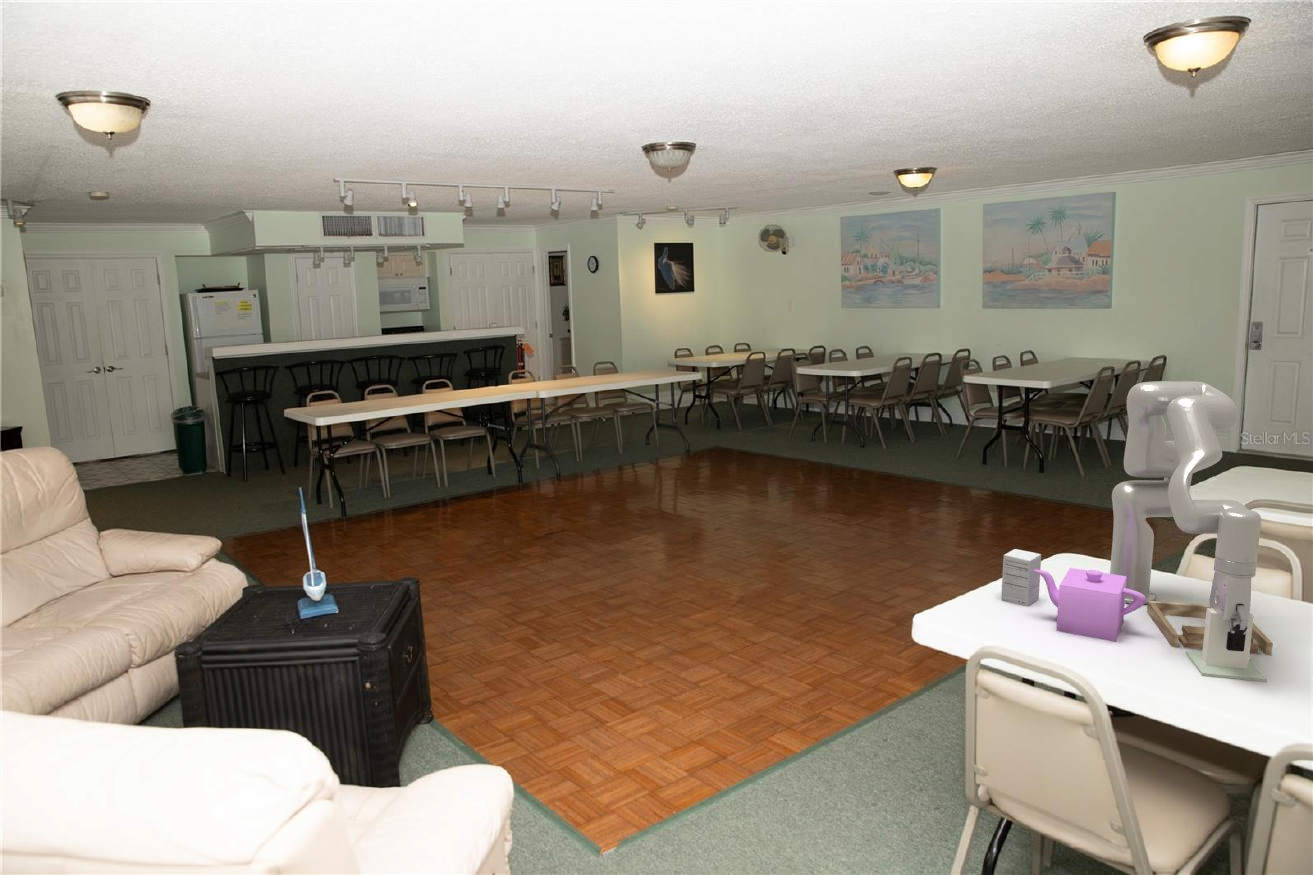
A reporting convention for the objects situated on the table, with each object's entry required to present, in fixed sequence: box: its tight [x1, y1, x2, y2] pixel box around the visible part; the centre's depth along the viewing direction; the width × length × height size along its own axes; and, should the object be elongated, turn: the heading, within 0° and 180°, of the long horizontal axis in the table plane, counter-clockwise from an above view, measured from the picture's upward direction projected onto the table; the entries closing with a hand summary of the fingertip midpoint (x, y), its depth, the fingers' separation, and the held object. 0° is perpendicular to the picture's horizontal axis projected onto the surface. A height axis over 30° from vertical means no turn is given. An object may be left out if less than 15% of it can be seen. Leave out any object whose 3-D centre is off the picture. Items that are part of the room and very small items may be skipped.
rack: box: [1146, 600, 1273, 656], centre depth 210 cm, size 20×22×3 cm
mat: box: [1184, 649, 1268, 682], centre depth 192 cm, size 12×12×1 cm
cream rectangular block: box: [1201, 608, 1254, 669], centre depth 191 cm, size 8×3×12 cm, turn 74°
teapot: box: [1034, 567, 1146, 643], centre depth 215 cm, size 15×25×14 cm, turn 56°
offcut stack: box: [1178, 624, 1260, 655], centre depth 202 cm, size 15×5×4 cm, turn 74°
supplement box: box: [1000, 548, 1042, 607], centre depth 233 cm, size 7×7×13 cm
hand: (1226, 641), depth 191 cm, fingers open, 9 cm apart
